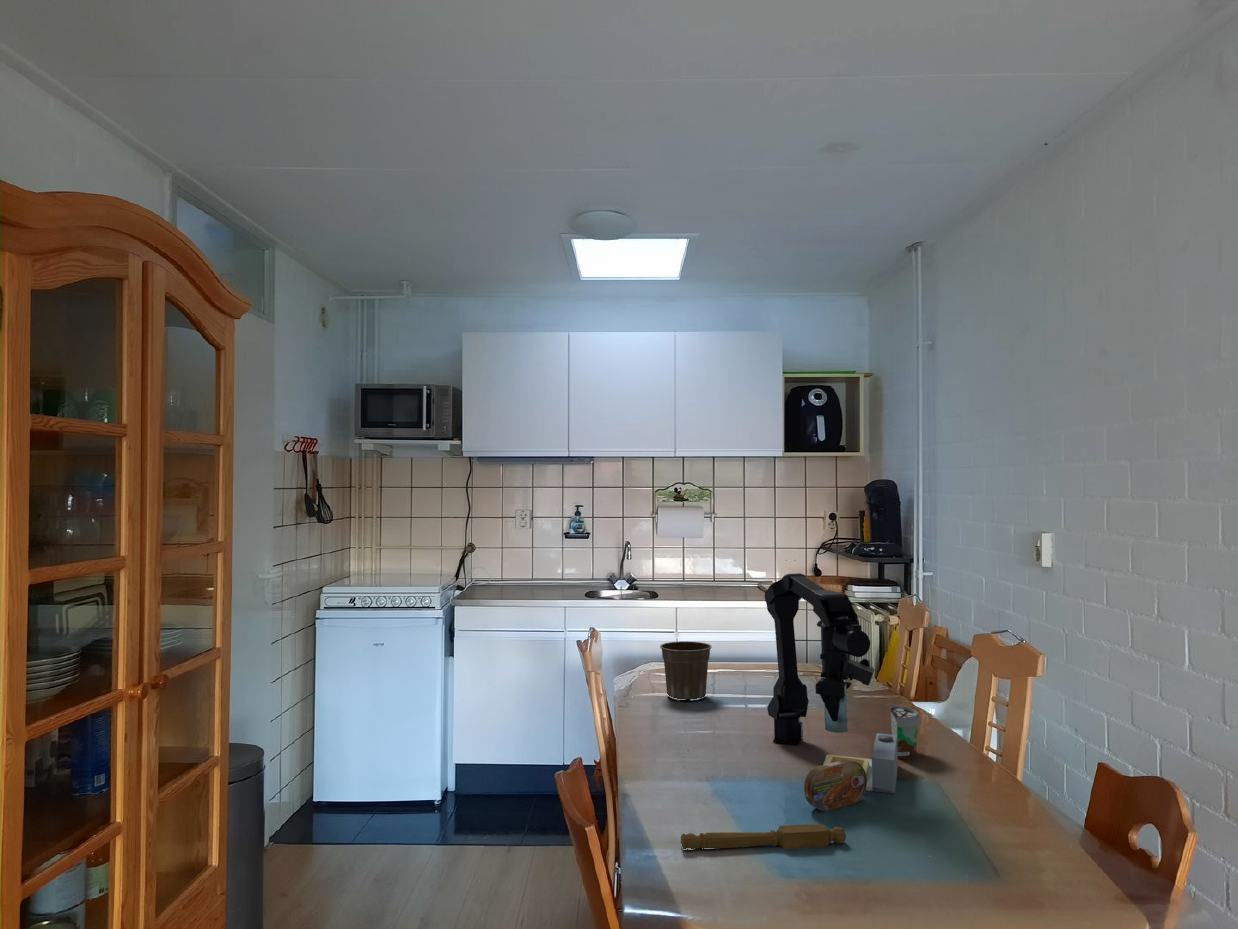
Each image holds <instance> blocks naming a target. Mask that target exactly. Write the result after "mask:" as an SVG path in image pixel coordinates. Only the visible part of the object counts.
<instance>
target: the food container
mask: <svg viewBox="0 0 1238 929" xmlns="http://www.w3.org/2000/svg"><path fill="white" fill-rule="evenodd" d="M889 713H890V715H889V716H890V717H889V718H890V735H897V759H898V760H907V759H908V760H909V759H913V758H915V757H916V756H917V750H918V725H920V724H921V719H920V718H921V717H920V715H919V712H918V711H917V710H915V709H913V708H911V707H908V706H903V705H897V704H895V705H894V704H889Z"/></svg>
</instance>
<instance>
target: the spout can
mask: <svg viewBox="0 0 1238 929" xmlns="http://www.w3.org/2000/svg"><path fill="white" fill-rule="evenodd" d="M848 715H849V714H848V693H847V694H846V695H845V696H844V697H843V698H842V699H841V701H840V707H839V714H838V720H837V722H836V721H832V719H831V717H830V715H829V713H828V710H827V708H826V706H825V705H824V730H825V731H827V732H830V733H837V734H838V733H840V734H843V733H847V732H849V719H848V718H849V717H848Z"/></svg>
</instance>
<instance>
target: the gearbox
mask: <svg viewBox="0 0 1238 929" xmlns="http://www.w3.org/2000/svg"><path fill="white" fill-rule="evenodd" d="M873 744H874V745H873V747H872V748H873V749H872V755H871V758H865V757H853V756H846V755H838V754H837V755H836V754H826V756H825V759H824V761H823V764H822V765H825V764H830V763H833V762H837V761H841V760H849V761H852V762H857V763H859V764H860V765H861V766H862V767H863V768H864V770H865V773H866V777H867V786H866V790H865V791H869V792H875V793H877V792H878V793H882V794H883V793H885V794H892V795H895V794H896V788H897V787H896V786H897V777H898V776H897V775H898V766H899V764H898V760H899V759H897V735H891V733H890V734H889V733H888V734H887V733H880V732H879V733H878V732H877V733H876V735H875V739H874V743H873Z"/></svg>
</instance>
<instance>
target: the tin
mask: <svg viewBox="0 0 1238 929" xmlns="http://www.w3.org/2000/svg"><path fill="white" fill-rule="evenodd" d="M866 786H867V777H866V773H865V770H864V768H863V767H862V766H861V765H860V764H859V763H857V762H852V761H849V760H841V761H837V762H833V763H830V764H825V765H823V764H822V765H818V766H815V767H813V768H811V769H810V770H809V771H808V773H807V775H806V776H805V780H804V786H803V787H804V796H805V799H806V801H807V803H808V804H809V805H810V806H812V807H813V808H815V809H818V810H819V811H821V812H823V813H824V812H830V811H829V810H831V811H834V810H837V809H840V808H844V807H848V806H851V805H855V804H857V803H859V801H861V800H862V799H863V797H864V795H865V793H866V791H867V790H866ZM833 809H834V810H833Z"/></svg>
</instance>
